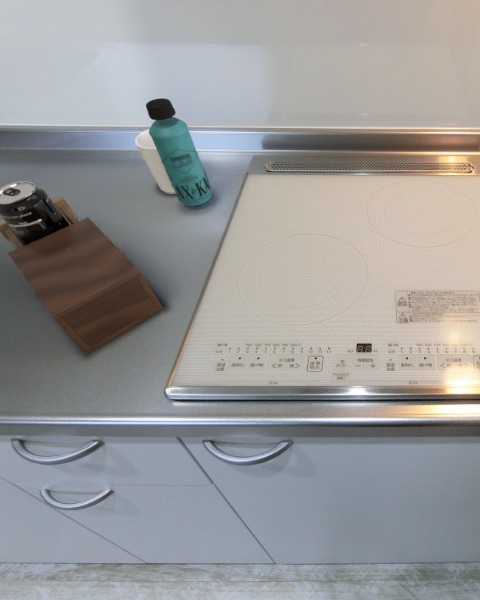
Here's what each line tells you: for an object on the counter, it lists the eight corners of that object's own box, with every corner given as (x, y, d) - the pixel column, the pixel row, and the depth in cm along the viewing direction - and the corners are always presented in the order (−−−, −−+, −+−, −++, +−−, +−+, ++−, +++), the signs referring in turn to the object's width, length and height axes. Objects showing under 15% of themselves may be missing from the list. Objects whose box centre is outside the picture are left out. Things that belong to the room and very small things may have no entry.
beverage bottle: (175, 203, 86) (127, 102, 71) (205, 189, 89) (166, 89, 74) (192, 217, 83) (146, 115, 68) (222, 202, 86) (185, 101, 71)
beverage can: (59, 234, 77) (14, 175, 68) (92, 241, 76) (50, 182, 67) (28, 260, 72) (-25, 201, 63) (62, 268, 71) (13, 208, 62)
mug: (210, 184, 91) (192, 137, 83) (167, 201, 87) (145, 154, 79) (187, 162, 96) (169, 117, 88) (147, 178, 92) (123, 131, 84)
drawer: (11, 242, 77) (-16, 211, 72) (72, 215, 82) (51, 184, 77) (57, 304, 68) (29, 273, 62) (123, 270, 73) (102, 238, 68)
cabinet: (43, 292, 71) (7, 253, 64) (114, 256, 76) (88, 217, 70) (87, 353, 63) (51, 316, 56) (163, 308, 68) (139, 269, 62)
